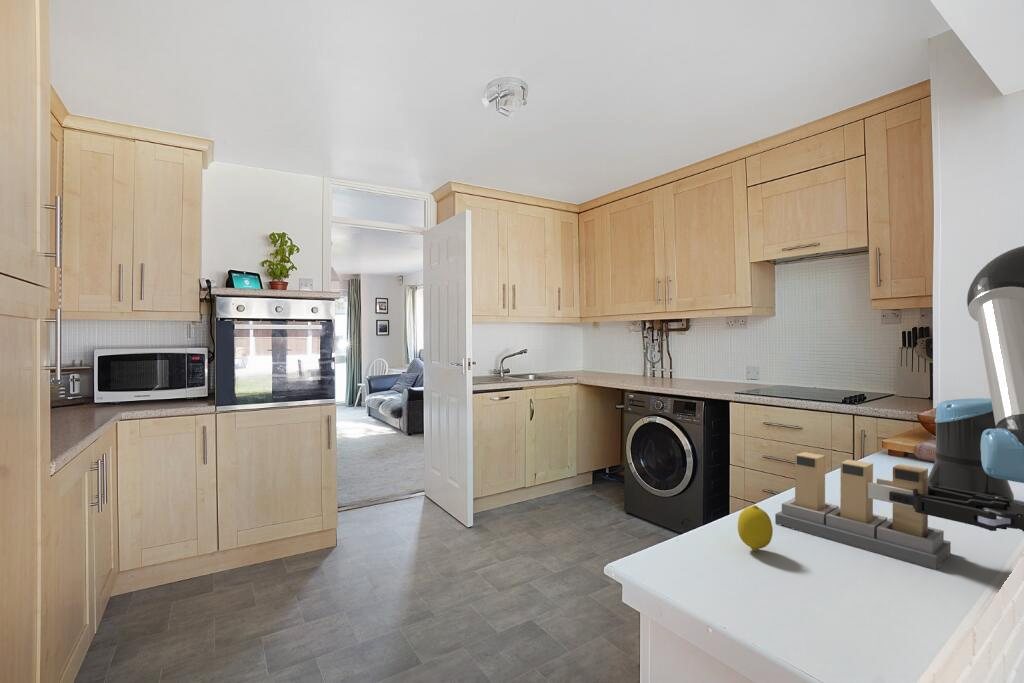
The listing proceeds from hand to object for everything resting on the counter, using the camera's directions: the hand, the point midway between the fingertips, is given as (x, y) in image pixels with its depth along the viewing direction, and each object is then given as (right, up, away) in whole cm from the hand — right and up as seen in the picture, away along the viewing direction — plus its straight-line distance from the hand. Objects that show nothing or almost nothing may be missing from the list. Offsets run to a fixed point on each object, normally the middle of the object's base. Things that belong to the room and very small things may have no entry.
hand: (873, 487), depth 90 cm
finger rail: (-2, -10, +2) cm, 10 cm away
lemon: (-24, -10, -4) cm, 26 cm away
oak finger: (+3, -7, -4) cm, 9 cm away
